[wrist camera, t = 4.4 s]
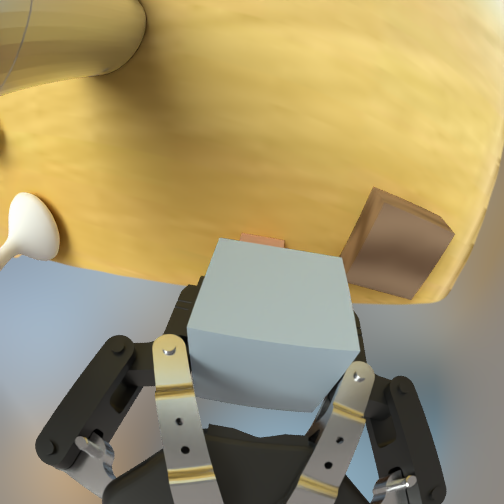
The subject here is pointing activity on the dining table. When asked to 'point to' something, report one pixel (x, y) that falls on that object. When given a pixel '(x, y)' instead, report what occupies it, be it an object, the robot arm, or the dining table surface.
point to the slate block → (271, 327)
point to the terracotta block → (262, 240)
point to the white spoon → (30, 230)
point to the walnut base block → (394, 245)
